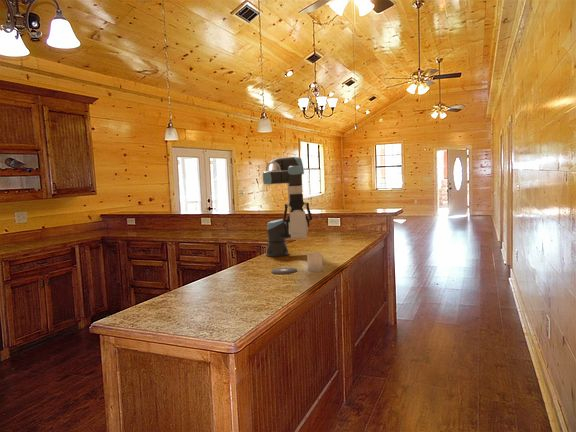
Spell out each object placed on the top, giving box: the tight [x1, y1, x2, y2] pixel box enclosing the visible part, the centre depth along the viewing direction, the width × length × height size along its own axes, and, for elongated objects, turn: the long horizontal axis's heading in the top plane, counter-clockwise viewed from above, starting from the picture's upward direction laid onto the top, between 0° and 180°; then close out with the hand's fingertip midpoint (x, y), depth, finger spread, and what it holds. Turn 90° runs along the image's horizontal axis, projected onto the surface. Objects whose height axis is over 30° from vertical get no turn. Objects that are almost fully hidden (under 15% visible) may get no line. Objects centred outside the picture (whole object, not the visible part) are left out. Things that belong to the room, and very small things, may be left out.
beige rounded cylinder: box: [306, 252, 324, 273], centre depth 233 cm, size 8×8×9 cm
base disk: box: [271, 266, 298, 275], centre depth 236 cm, size 14×14×1 cm
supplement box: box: [288, 210, 308, 240], centre depth 240 cm, size 9×9×15 cm
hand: (298, 233), depth 241 cm, fingers closed on supplement box, 9 cm apart
